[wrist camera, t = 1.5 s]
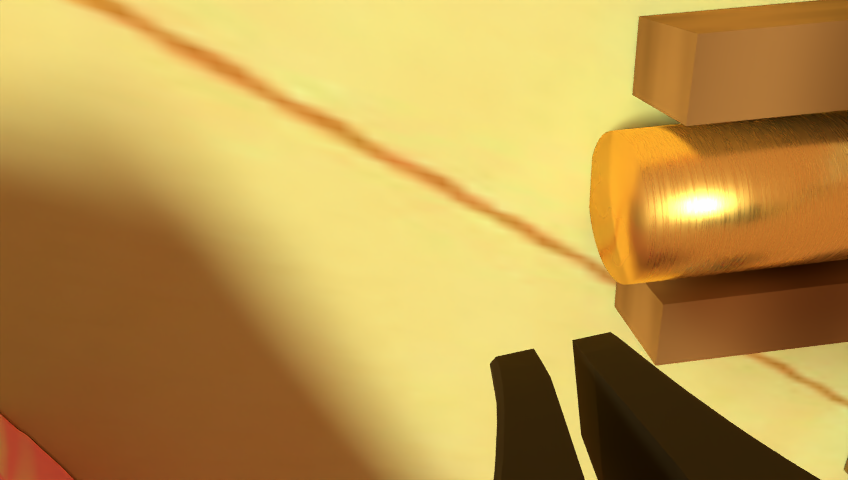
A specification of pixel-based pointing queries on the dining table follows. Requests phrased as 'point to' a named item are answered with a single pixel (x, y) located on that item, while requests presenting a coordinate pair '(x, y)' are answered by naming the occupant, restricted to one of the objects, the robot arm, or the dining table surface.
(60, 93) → the dining table surface
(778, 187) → the axle
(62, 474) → the gum box
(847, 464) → the v block
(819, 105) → the parallel wooden rails
